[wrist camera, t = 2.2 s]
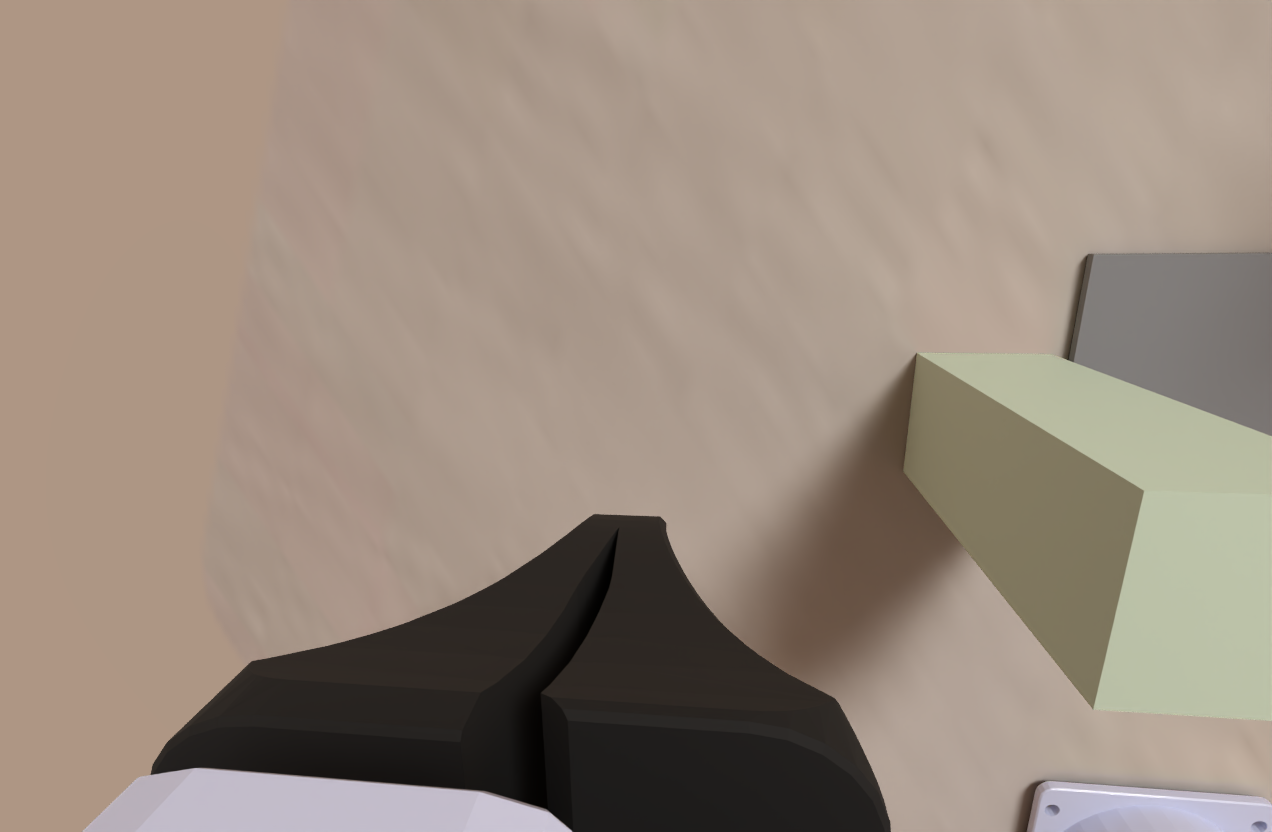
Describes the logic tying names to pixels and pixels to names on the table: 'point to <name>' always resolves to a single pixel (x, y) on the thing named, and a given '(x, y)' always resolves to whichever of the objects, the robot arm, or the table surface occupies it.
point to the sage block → (1107, 526)
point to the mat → (1183, 328)
